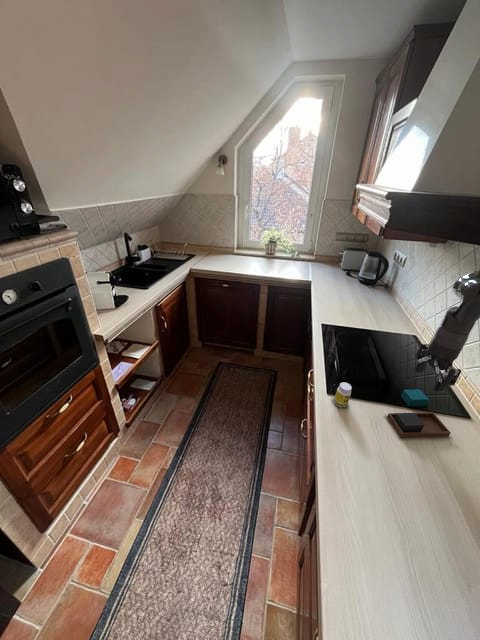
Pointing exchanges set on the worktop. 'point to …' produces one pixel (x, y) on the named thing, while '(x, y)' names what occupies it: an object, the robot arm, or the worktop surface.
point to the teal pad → (414, 397)
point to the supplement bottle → (343, 394)
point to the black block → (409, 422)
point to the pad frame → (430, 429)
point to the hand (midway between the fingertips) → (427, 380)
